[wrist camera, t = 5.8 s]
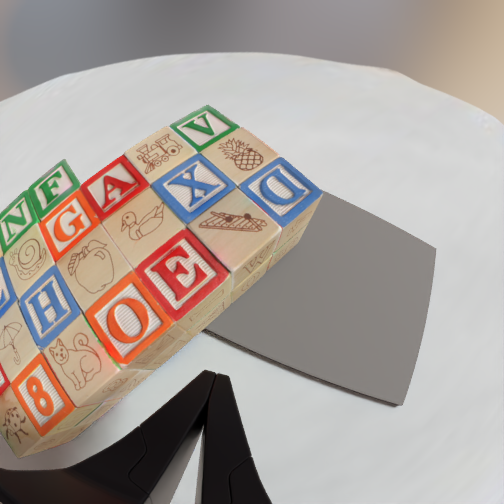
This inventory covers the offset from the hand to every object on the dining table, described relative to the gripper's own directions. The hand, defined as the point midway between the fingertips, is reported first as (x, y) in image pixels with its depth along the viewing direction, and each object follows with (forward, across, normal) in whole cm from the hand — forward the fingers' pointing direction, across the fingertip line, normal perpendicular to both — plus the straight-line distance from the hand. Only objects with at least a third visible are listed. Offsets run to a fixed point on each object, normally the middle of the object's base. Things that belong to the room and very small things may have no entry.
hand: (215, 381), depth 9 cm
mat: (+12, -2, -1) cm, 12 cm away
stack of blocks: (+3, +3, +3) cm, 5 cm away
